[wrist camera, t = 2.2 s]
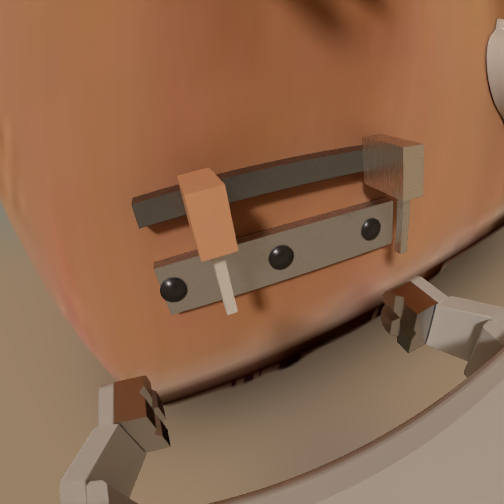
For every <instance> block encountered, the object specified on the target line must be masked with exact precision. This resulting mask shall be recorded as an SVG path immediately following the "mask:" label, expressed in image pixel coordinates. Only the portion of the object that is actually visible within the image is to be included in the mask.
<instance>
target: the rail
mask: <svg viewBox="0 0 504 504" xmlns="http://www.w3.org/2000/svg"><path fill="white" fill-rule="evenodd" d="M362 171H364V184H366V185H369V186H371V187H373V188H375V189H377V190H380V191H382V192H384V193H386V194H388V195H390V196H392V197H395V198H397V222H396V241H395V251H396V252H398V253H399V254H402V253H405V252H407V241H408V228H409V211H410V199H414V198H417V197H421V196H423V180H424V144H421V143H417V142H413V141H409V140H405V139H401V138H397V137H392V136H388V135H384V134H379V135H371V136H364V137H362V145H359V146H352V147H346V148H340V149H334V150H329V151H323V152H318V153H312V154H307V155H302V156H297V157H292V158H287V159H282V160H277V161H273V162H268V163H263V164H259V165H254V166H250V167H246V168H241V169H237V170H233V171H229V172H225V173H221V174H217V175H216V176H217V177H218V178H219V179H220V180H221V181H222V182H223V183H224V184H225V187H226V192H227V197H228V202H229V203H231V202H234V201H238V200H242V199H246V198H250V197H254V196H258V195H262V194H266V193H270V192H274V191H278V190H282V189H286V188H290V187H294V186H299V185H303V184H307V183H312V182H316V181H320V180H325V179H329V178H334V177H338V176H343V175H348V174H352V173H357V172H362ZM132 208H133V211H134V214H135V217H136V220H137V223H138V226H139V228H143V227H146V226H149V225H153V224H156V223H159V222H163V221H166V220H170V219H173V218H176V217H180V216H183V215H186V211H185V207H184V203H183V199H182V195H181V191H180V187H179V185H175V186H172V187H168V188H165V189H161V190H158V191H154V192H151V193H148V194H144V195H141V196H138V197H134V198H133V200H132Z"/></svg>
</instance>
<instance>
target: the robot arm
mask: <svg viewBox="0 0 504 504" xmlns="http://www.w3.org/2000/svg"><path fill="white" fill-rule="evenodd" d="M487 73H488V80H489V85H490V89H491V93H492V97H493V100H494V102H495V105H496V107H497V109H498V111H499V112H500V114H501V115H502V117H503V119H504V19H497V23H496V29H495V31H494V32H493V33H492V35H491V36H490V39H489V42H488V46H487ZM383 302H384V303H385V306H384V307H383V309H382V311H381V320H382V324H383V326H384V328H385V330H386V331H387V332H388V333H389V334H390V335H394V336H397V342H398V343H399V344H400V345H401V346H402V347H403V348H404V349H405V350H406V351H407V352H408V353H410V352H412V351H414V350H415V349H417V348H419V347H421V346H422V345H424V344H426V345H428V346H431V347H433V348H435V349H438V350H441V351H443V352H446V353H448V354H451V355H453V356H456V357H458V358H461V359H464V360H466V361H468V364H467V366H466V368H465V370H464V374H465V376H466V377H467V379H466V380H464V381H463V382H462V383H461V384H459V385H458V386H457V387H455V388H454V389H453V390H452V391H450V392H449V393H447V394H446V395H444V396H443V397H442V398H440V399H439V400H438V401H436V402H435V403H433V404H432V405H430V406H429V407H428V408H426V409H424V410H423V411H421V412H420V413H418V414H417V415H416V416H414V417H412V418H411V419H409V420H407V421H406V422H404V423H403V424H401V425H399V426H398V427H396V428H394V429H393V430H391V431H389V432H387V433H386V434H384V435H382V436H380V437H379V438H377V439H375V440H374V441H372V442H370V443H368V444H366V445H364V446H362V447H360V448H358V449H356V450H354V451H352V452H350V453H348V454H346V455H344V456H342V457H340V458H338V459H336V460H333V461H331V462H329V463H327V464H325V465H322V466H320V467H318V468H316V469H313V470H311V471H308V472H306V473H303V474H301V475H298V476H296V477H293V478H291V479H288V480H285V481H283V482H280V483H277V484H274V485H271V486H268V487H265V488H262V489H259V490H256V491H253V492H250V493H246V494H243V495H239V496H236V497H232V498H229V499H225V500H221V501H217V502H213V503H209V504H504V308H503V307H499V306H494V305H490V304H485V303H481V302H476V301H472V300H467V299H462V298H458V297H453V296H450V297H447V296H446V295H444V294H443V293H442V292H441V291H439V290H438V289H437V288H435V287H434V286H433V285H431V284H430V283H429V282H427V281H426V280H425V279H423V278H422V277H419V276H416V277H414V278H412V279H410V280H408V281H406V282H404V283H402V284H399V285H397V286H395V287H393V288H391V289H389V290H387V291H385V293H384V294H383ZM165 419H166V417H165V412H164V408H163V405H162V402H161V400H160V398H159V396H158V394H157V392H156V391H154V390H152V389H151V383H150V381H149V380H148V378H147V376H140V377H136V378H131V379H126V380H122V381H117V382H114V383H109V384H104V385H101V386H100V388H99V405H98V427H97V428H94V429H93V430H92V432H91V434H90V435H89V437H88V438H87V440H86V441H85V443H84V445H83V446H82V448H81V449H80V451H79V452H78V454H77V455H76V457H75V459H74V460H73V462H72V463H71V465H70V467H69V468H68V470H67V471H66V473H65V475H64V476H63V478H62V480H61V481H60V504H138V503H136V502H134V501H133V500H131V499H130V498H129V497H130V495H131V492H132V490H133V487H134V484H135V482H136V479H137V477H138V474H139V471H140V469H141V467H142V464H143V461H144V459H145V456H146V452H151V451H155V450H159V449H163V448H167V447H170V440H169V434H168V429H167V428H166V427H165V425H164V424H163V422H164V420H165Z"/></svg>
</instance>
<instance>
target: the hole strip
mask: <svg viewBox="0 0 504 504" xmlns="http://www.w3.org/2000/svg"><path fill="white" fill-rule="evenodd" d="M392 226H393V200H391V199H389V198H387V197H385V198H381V199H377V200H373V201H370V202H366V203H362V204H358V205H355V206H351V207H347V208H343V209H340V210H336V211H332V212H329V213H325V214H321V215H318V216H314V217H310V218H307V219H303V220H300V221H296V222H292V223H289V224H285V225H282V226H278V227H275V228H271V229H267V230H264V231H260V232H257V233H253V234H250V235H246V236H243V237H239V238H236V241H237V246H238V251H237V252H234V253H231V254H227V255H224V256H225V260H226V265H227V269H228V273H229V277H230V282H231V286H232V290H233V294H234V296H236V295H239V294H242V293H245V292H249V291H252V290H255V289H258V288H261V287H264V286H267V285H271V284H274V283H277V282H280V281H283V280H286V279H289V278H292V277H295V276H298V275H301V274H304V273H307V272H310V271H313V270H316V269H319V268H322V267H325V266H328V265H331V264H334V263H337V262H340V261H343V260H345V259H348V258H351V257H354V256H357V255H360V254H363V253H365V252H368V251H371V250H374V249H377V248H379V247H382V246H385V245H388V244H391V243H392ZM154 270H155V273H156V276H157V278H158V281H159V284H160V293H161V296H162V297H163V299H165V300H166V302H167V305H168V307H169V310H170V312H171V315H173V314H176V313H180V312H183V311H187V310H190V309H193V308H197V307H200V306H203V305H207V304H210V303H213V302H216V301H220V300H223V299H222V296H221V292H220V288H219V284H218V281H217V277H216V273H215V269H214V265H213V261H212V259H210V260H207V261H203V262H201V259H200V256H199V253H198V250H194V251H191V252H187V253H184V254H181V255H177V256H174V257H170V258H167V259H164V260H160V261H157V262H154Z"/></svg>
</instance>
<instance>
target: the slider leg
mask: <svg viewBox="0 0 504 504" xmlns="http://www.w3.org/2000/svg"><path fill="white" fill-rule="evenodd" d="M177 179H178V183H179V187H180V191H181V195H182V199H183V203H184V207H185V211H186V215H187V218H188V222H189V226H190V230H191V233H192V236H193V239H194V242H195V244H196V247H197V250H198V253H199V256H200V259H201V262H203V261H207V260H210V259H212V261H213V265H214V269H215V273H216V277H217V281H218V284H219V288H220V292H221V296H222V299H223V303H224V307H225V310H226V312H227V315H230V314H233V313H236V312H238V310H237V306H236V302H235V298H234V294H233V290H232V286H231V282H230V277H229V273H228V269H227V265H226V260H225V256H224V255H227V254H231V253H234V252H237V251H238V246H237V241H236V236H235V232H234V227H233V222H232V217H231V212H230V207H229V202H228V197H227V192H226V187H225V184H224V183H223V182H222V181H221V180H220V179H219V178H218V177H217V176H216V175H215V173H214V172H213V171H212V170H211V169H210V168H205V169H201V170H197V171H193V172H189V173H185V174H182V175H178V176H177Z"/></svg>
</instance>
